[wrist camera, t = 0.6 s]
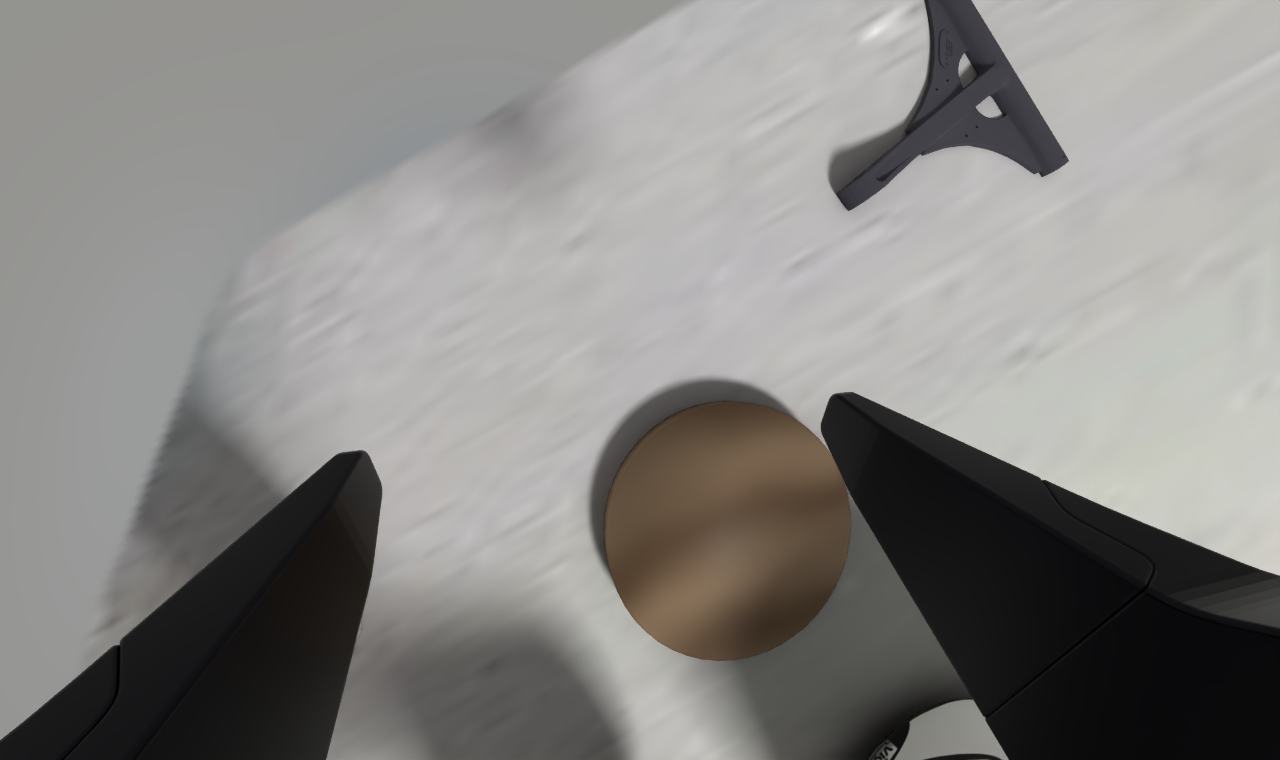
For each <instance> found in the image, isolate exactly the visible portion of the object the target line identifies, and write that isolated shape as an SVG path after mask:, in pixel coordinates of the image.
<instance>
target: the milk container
mask: <svg viewBox="0 0 1280 760" xmlns="http://www.w3.org/2000/svg"><path fill="white" fill-rule="evenodd" d="M868 760H1009V759H1008V758H1007V756H1006V754H1005V753H1004V751H1003V749H1002V748H1001V746H1000V744H999V743H998V741H997V739H996V738H995V736H994V734H993V733H992V731H991V729H990V728H989V726H988V724H987V723H986V721H985V717H983V715H982V714H981V712H980V710H979V709H978V707H977V705H976V704H975V702H974V700H973V699H955V700H949V701H945V702H942V703H939V704H937V705H935V706H932V707H930V708H928V709H925V710H923V711H921V712H919V713H917V714H915V715H913V716H912V717H910V718H908V719H907V720H906V721H904V722H903V723H902V724H901V725H900V726H899V727H898V728H896V729H895V730H894V731H893V732H892V733H891V734H890V735H889V736H888V737H887V738H885V739H884V740H883V741H882V742H881V743H880V744H879V745H878V746H877V747H876V748H875V750H874V751H873V753H872V755H871V756H870V758H869V759H868Z"/></svg>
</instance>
